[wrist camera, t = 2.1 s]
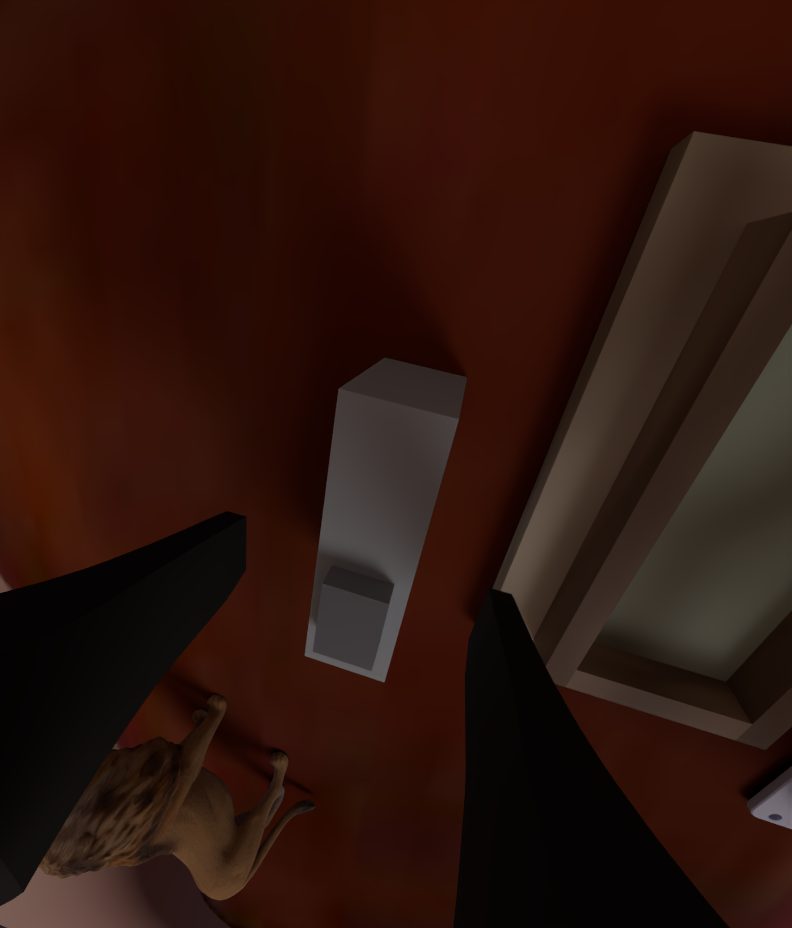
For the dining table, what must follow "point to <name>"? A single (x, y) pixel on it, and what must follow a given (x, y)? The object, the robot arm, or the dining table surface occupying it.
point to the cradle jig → (679, 463)
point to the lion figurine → (170, 814)
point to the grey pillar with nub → (378, 508)
